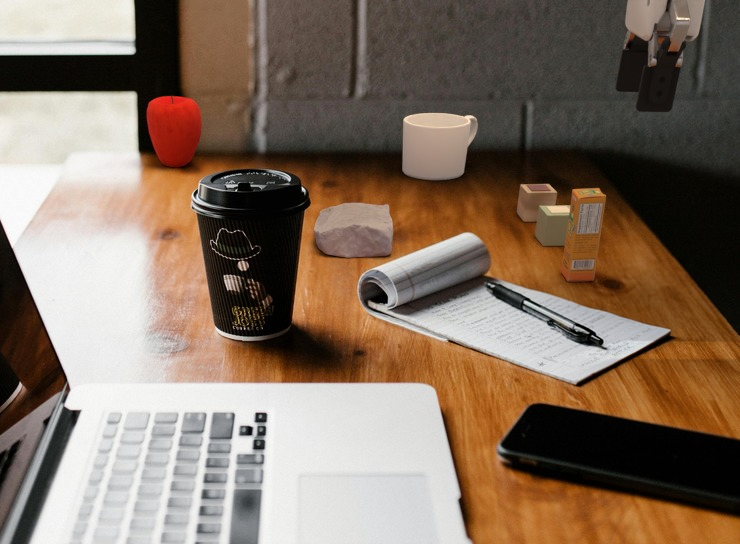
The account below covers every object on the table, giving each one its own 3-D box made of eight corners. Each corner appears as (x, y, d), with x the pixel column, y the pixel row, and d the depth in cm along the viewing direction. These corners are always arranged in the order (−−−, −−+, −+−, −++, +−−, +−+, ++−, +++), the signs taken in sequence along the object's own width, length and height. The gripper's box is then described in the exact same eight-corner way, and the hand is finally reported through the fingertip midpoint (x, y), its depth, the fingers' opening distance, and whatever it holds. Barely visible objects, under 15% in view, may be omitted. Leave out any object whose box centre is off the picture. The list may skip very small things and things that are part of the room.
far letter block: (544, 212, 121) (549, 183, 118) (552, 221, 117) (557, 191, 115) (516, 212, 120) (520, 183, 118) (523, 221, 117) (527, 192, 115)
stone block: (319, 271, 107) (399, 255, 105) (312, 233, 104) (393, 217, 103) (318, 241, 117) (391, 227, 116) (311, 207, 115) (386, 192, 113)
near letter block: (564, 235, 112) (570, 204, 110) (574, 245, 109) (579, 214, 107) (534, 235, 112) (539, 204, 110) (542, 246, 109) (547, 214, 107)
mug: (426, 184, 132) (431, 130, 128) (387, 169, 140) (389, 117, 136) (493, 172, 138) (499, 120, 134) (451, 158, 146) (456, 108, 142)
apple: (214, 162, 144) (211, 95, 139) (177, 174, 138) (172, 103, 133) (176, 154, 149) (171, 88, 143) (139, 165, 143) (133, 97, 137)
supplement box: (557, 271, 101) (571, 187, 96) (586, 271, 101) (602, 187, 96) (564, 282, 99) (578, 195, 93) (594, 282, 99) (610, 195, 93)
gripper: (758, -100, 69) (705, 121, 78) (698, -101, 84) (659, 85, 93) (661, -100, 70) (619, 119, 79) (618, -101, 84) (587, 84, 93)
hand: (641, 100), depth 86 cm, fingers open, 9 cm apart
